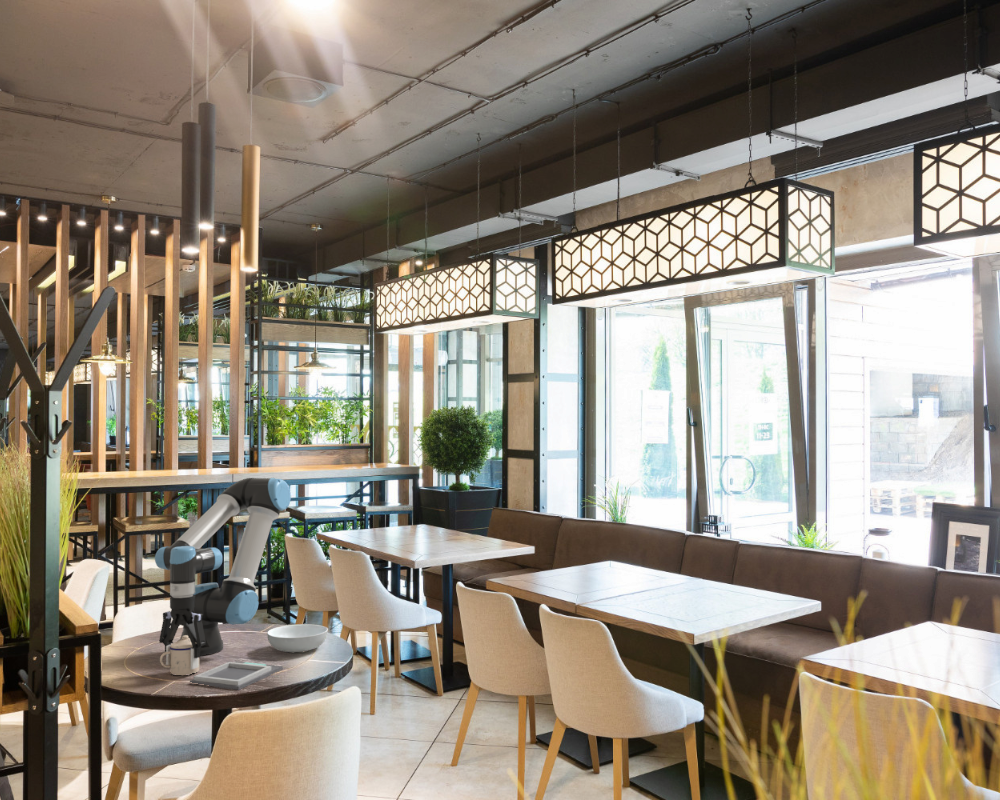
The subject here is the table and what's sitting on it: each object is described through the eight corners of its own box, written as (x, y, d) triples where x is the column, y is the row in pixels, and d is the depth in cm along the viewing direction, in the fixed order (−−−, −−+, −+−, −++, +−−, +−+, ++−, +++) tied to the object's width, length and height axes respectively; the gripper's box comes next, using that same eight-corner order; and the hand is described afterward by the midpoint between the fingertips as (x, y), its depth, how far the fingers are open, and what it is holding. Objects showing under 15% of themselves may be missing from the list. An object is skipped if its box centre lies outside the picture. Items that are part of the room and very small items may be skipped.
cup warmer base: (189, 684, 248) (189, 676, 248) (236, 664, 268) (236, 657, 269) (238, 690, 242) (238, 682, 242) (282, 669, 262) (282, 662, 262)
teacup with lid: (197, 666, 266) (197, 631, 266) (202, 673, 258) (202, 637, 258) (158, 672, 260) (158, 635, 260) (161, 680, 252) (162, 642, 252)
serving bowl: (339, 649, 286) (339, 630, 286) (286, 661, 271) (286, 641, 272) (308, 639, 301) (308, 620, 301) (256, 650, 286) (256, 630, 286)
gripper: (147, 595, 260) (146, 667, 259) (202, 599, 252) (201, 673, 251) (164, 591, 267) (163, 660, 266) (218, 595, 259) (218, 666, 258)
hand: (182, 666), depth 258 cm, fingers closed on teacup with lid, 9 cm apart
